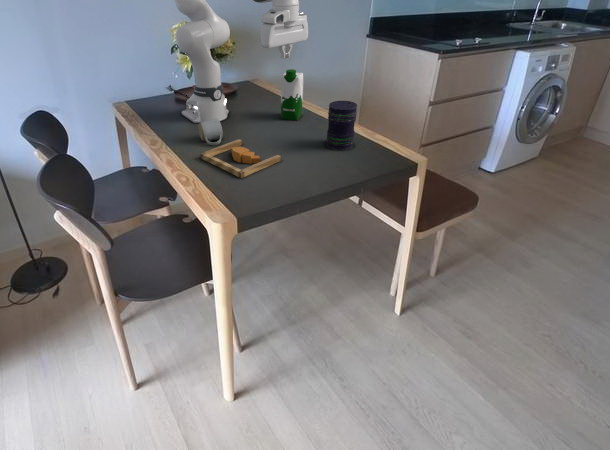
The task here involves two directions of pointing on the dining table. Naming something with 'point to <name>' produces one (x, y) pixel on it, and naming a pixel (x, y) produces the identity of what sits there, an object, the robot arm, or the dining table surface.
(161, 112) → the dining table surface
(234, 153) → the orange block cluster
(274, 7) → the robot arm
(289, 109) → the milk carton
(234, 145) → the oak frame
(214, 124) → the ceramic mug
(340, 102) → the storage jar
